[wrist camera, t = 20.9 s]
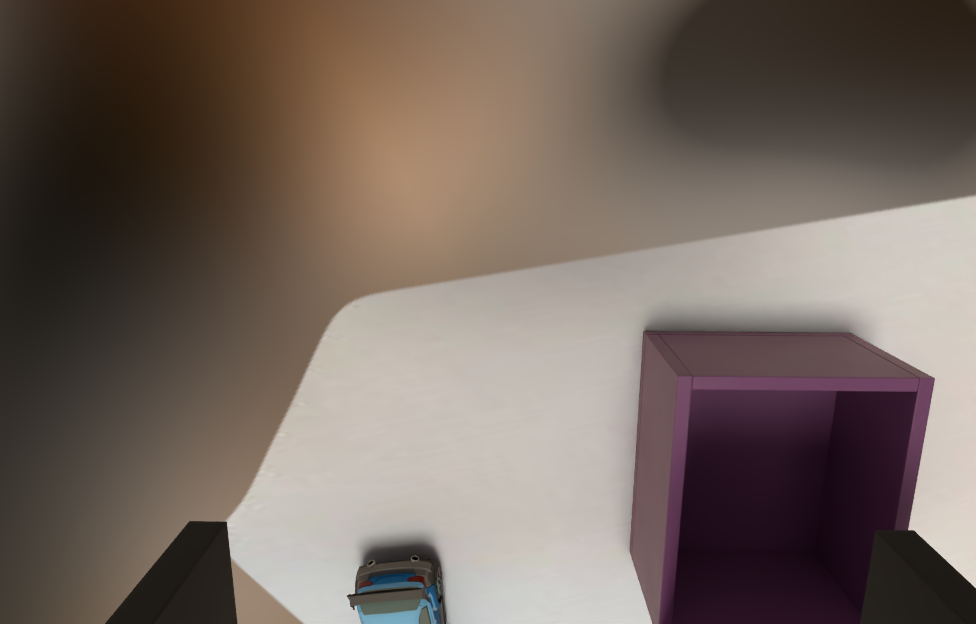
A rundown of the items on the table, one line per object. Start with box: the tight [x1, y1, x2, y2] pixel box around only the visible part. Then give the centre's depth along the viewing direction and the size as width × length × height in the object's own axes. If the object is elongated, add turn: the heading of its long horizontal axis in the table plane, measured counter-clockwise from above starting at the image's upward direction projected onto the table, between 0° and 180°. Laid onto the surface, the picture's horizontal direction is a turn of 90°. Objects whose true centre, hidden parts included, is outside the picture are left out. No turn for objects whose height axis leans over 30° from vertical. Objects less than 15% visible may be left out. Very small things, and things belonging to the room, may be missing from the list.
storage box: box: [630, 331, 935, 624], centre depth 42 cm, size 17×14×9 cm
